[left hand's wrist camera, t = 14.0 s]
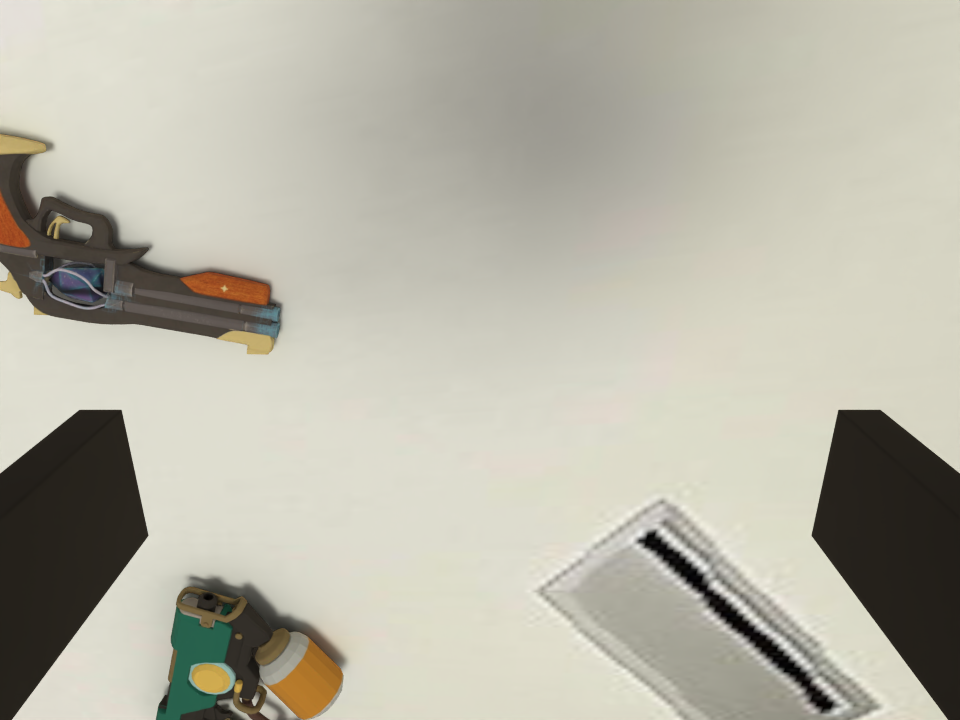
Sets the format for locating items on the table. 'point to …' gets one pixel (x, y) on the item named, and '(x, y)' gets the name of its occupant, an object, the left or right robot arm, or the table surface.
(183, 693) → the spray gun
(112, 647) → the table surface
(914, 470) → the left robot arm
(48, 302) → the toy gun
